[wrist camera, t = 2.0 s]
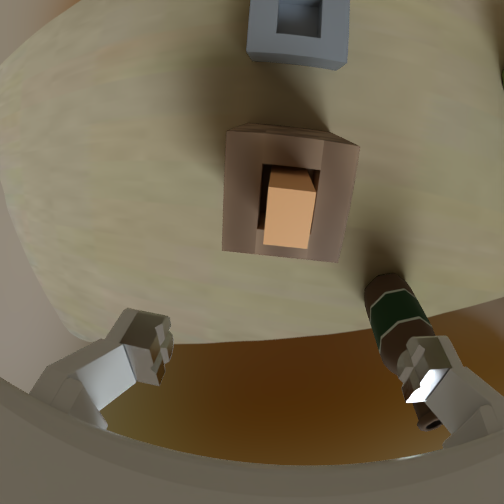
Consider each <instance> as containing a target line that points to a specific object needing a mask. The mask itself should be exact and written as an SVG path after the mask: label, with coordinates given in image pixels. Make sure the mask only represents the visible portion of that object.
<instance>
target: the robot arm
mask: <svg viewBox="0 0 504 504" xmlns="http://www.w3.org/2000/svg"><path fill="white" fill-rule="evenodd" d="M170 327H171V322H170V317H168V316H165V315H160V314H155V313H151V312H146V311H139V310H135V309H131V308H127V309H125V310H124V311H123V312H122V314H121V315H120V317H119V318H118V320H117V321H116V323H115V324H114V326H113V327H112V329H111V330H110V332H109V334H108V335H107V337H106V338H105V339H99V340H97V341H95V342H93V343H92V344H90V345H88V346H86V347H84V348H82V349H80V350H78V351H76V352H74V353H72V354H71V355H68V356H66V357H65V358H63V359H61V360H59V361H57V362H55V363H53V364H51V365H49V366H47V367H46V369H45V370H44V371H43V373H42V374H41V376H40V378H39V379H38V381H37V382H36V384H35V385H34V387H33V388H32V390H31V391H30V393H29V394H28V393H26V392H24V391H22V390H21V389H19V388H17V387H15V386H14V385H12V384H10V383H9V382H7V381H6V380H4V379H3V378H1V377H0V504H504V397H503V396H502V395H500V394H499V393H498V392H497V391H496V390H494V389H493V388H492V387H491V386H489V385H488V384H487V383H486V382H485V381H483V380H482V379H481V378H480V377H478V376H477V375H476V374H475V373H473V372H472V371H471V370H470V369H468V368H467V367H463V365H462V363H461V361H460V359H459V357H458V355H457V353H456V351H455V349H454V347H453V345H452V343H451V342H450V340H449V338H448V337H447V336H424V337H411V338H410V339H409V340H408V342H407V344H406V346H407V350H405V351H404V352H403V353H401V355H400V357H399V359H398V363H397V374H398V378H399V379H400V380H401V381H402V382H403V383H404V384H403V386H402V391H403V395H404V398H405V402H406V403H409V402H421V401H425V403H426V405H427V406H428V407H429V408H430V409H431V410H432V412H433V413H434V414H435V415H436V416H437V417H438V419H439V420H440V421H441V422H442V423H443V424H444V426H445V427H446V428H447V429H448V430H449V432H450V433H451V434H452V435H451V436H450V437H449V438H448V439H447V440H445V441H444V443H443V449H441V450H437V451H433V452H429V453H424V454H420V455H415V456H410V457H404V458H398V459H392V460H385V461H377V462H369V463H359V464H347V465H327V466H288V465H269V464H256V463H246V462H237V461H229V460H222V459H216V458H210V457H204V456H198V455H194V454H188V453H184V452H179V451H175V450H171V449H167V448H163V447H158V446H155V445H151V444H148V443H144V442H141V441H138V440H134V439H131V438H128V437H125V436H122V435H119V434H116V433H113V432H111V431H108V430H106V428H107V426H108V425H107V423H106V421H105V419H104V418H103V416H102V415H101V413H100V412H99V410H101V409H102V408H103V407H105V406H106V405H107V404H109V403H110V402H111V401H113V400H114V399H115V398H116V397H118V396H119V395H120V394H122V393H123V392H124V391H126V390H127V389H128V388H129V387H130V386H132V385H133V384H135V383H136V381H139V382H143V383H148V384H152V385H157V386H160V384H161V381H162V378H163V376H164V373H165V367H164V364H165V363H167V362H169V361H170V358H171V355H172V350H173V335H172V334H171V332H170V331H169V329H170Z"/></svg>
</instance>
